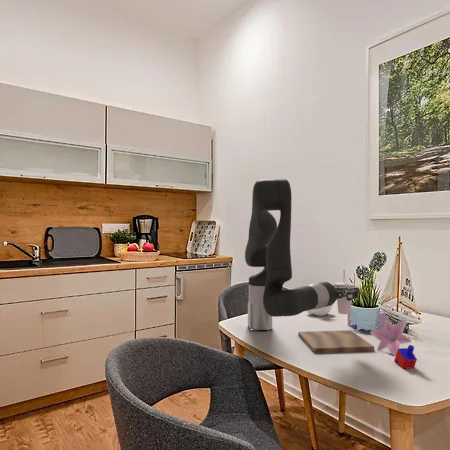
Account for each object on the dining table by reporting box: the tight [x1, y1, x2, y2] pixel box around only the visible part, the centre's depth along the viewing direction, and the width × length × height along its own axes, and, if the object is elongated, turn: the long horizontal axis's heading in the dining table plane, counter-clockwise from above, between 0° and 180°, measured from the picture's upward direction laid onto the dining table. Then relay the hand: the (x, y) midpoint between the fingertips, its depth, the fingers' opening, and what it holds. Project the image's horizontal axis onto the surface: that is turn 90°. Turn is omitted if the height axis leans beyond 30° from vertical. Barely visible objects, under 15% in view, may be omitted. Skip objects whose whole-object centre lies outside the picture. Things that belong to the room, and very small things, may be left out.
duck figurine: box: [306, 304, 334, 317], centre depth 170 cm, size 12×8×11 cm
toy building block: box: [393, 344, 418, 369], centre depth 111 cm, size 4×4×8 cm
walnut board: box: [297, 329, 375, 354], centre depth 132 cm, size 20×18×2 cm
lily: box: [369, 320, 412, 358], centre depth 125 cm, size 12×12×10 cm
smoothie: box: [333, 269, 356, 315], centre depth 126 cm, size 6×6×14 cm
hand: (348, 289), depth 127 cm, fingers closed on smoothie, 6 cm apart
